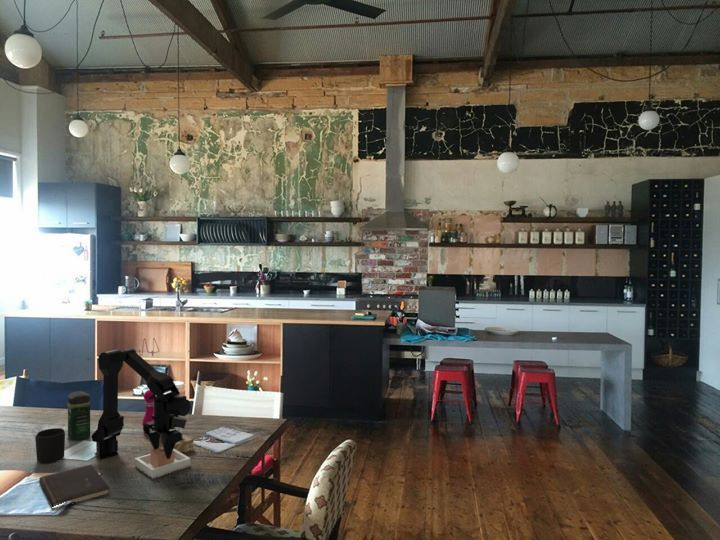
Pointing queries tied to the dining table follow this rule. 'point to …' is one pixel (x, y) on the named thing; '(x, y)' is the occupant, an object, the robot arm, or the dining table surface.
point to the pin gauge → (179, 430)
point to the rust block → (160, 458)
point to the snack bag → (224, 439)
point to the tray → (151, 471)
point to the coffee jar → (78, 415)
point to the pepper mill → (148, 408)
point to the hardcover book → (73, 485)
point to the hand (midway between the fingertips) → (162, 455)
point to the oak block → (184, 444)
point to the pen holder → (50, 445)
